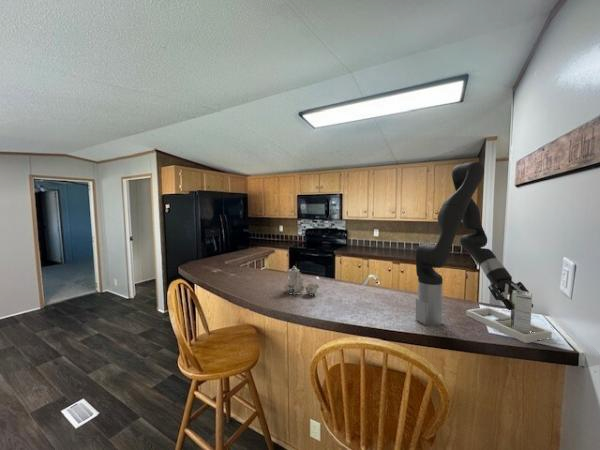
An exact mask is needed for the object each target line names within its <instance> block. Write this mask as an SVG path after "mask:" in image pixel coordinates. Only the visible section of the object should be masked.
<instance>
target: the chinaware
mask: <svg viewBox="0 0 600 450" xmlns="http://www.w3.org/2000/svg"><path fill="white" fill-rule="evenodd" d="M301 274H302V272H301V271H300V269H298V267H296V266H295V265H293V266H292V268H290V269H288V270H287V271H286V277H287V279H288V280H287V283H286V286H285V291H286V292H287V294H288V293H292V294H298V293H301V292H302V293H303V291H304V289H305V291H306V293H307V294H308V295H309V294H311V295H312V297H313V294H316V293H317V292H318V289H319V288H320V286H319V284H316V283H315V284H314V283H308V284H304V286H303V282H304V280H305V277H302V275H301ZM302 293H301V294H302ZM298 295H299V294H298Z"/></svg>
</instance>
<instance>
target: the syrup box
mask: <svg viewBox="0 0 600 450" xmlns="http://www.w3.org/2000/svg"><path fill="white" fill-rule="evenodd" d="M511 303H512V305H513V306H514V309H513V310H510V316H511V320H510V328H511V329H514V330H516V331H518V332H523V333H528V334H529V333H530V325H531V324H532V308H533V307H532V304H533V293H532V292H530V291H529V292H525V291H520V290H513V293H512V295H511Z"/></svg>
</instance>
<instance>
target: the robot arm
mask: <svg viewBox="0 0 600 450" xmlns="http://www.w3.org/2000/svg"><path fill="white" fill-rule="evenodd" d="M484 174H485V167H484V164H483V163H482V162H479V161H471V162H470V161H469V162H466V163H461V164H457V165H455V166H454V167H453V168H452V172H451V177H452V183H453V186H454V190H455V192H454V193H452V194H451V195H450V196H449V197H448V198H446V199H445V200H444V202H443V203H442V205H441V208H440V209H439V211H438V214H437V223H438V227H439V232H440V234H439V238H438V240H437V243H436V244H430V243H421V244H420V245H418V246H417V249H416V251H415V268H416V269H415V271H416V276H417V297H416V298H415V320H416V321H417V322H420V323H421V324H423V325H424V326H431V327H437V326H438V327H439V326H441V325H443V323H442V321H443V282H444V281H443V276H442V275H441V274H440V273H438V272H436V270H435V269H434V268H437V269H440V268H443V267H444V266H445V264H446V263H447V262H448V260H449V256H450V254H451V250H452V247H453V244H454V243H453V242H454V240H455V237H456V236H457V235H456V234H457V232H458V230H459V227H460V224H461V222H462V226H463V229H466V230H472V232H473V233H468V234H467V233H466V234H463V235H462V236H461V237H460V239H459V243H460V245H461V247H462V248H463V250H465V251H466V252H467V253H468V254H469V255H470V256H471V257H473V258H474V259H475V260H476V263H478V265H479V266H480V268H481V270H482V272H483V273H484V275H485V276H486V278H487V279H488V281H489V283H490V285H489V286H488V287H487V288H488V290H489V291H490V293H491V295H492V296H493V298H494V299H495V300H496V301H500V302H502V304H503V305H504V307H505V308H506V309H507V310H508V311H511V310H513V309H514V306H513V305H512V301H510V299H508V295H509V296H510V295H511V296H512V293H513V290H520V291H525V292H530V291H529V290H528V289H527V288H526V286H525V285H524V284H523V283H522V282H521V281H519V282H514V281H513V280H512V279H513V277H512V275H511V273H509V271H508V270H507V268H506V267H505V265H504V264H503V263H502V262H501V261H500V260H499V259H498V257H497V256H496V255H495V254H494V252H493V251H492V250H491V249H489V248H485V247H486V246H487V243H488V237H487V234H486V232H485V230H484V228H483V225H482V221H481V212H480V209H479V206H478V204H477V203H476V202H475V200H474V199H473V196H474V194H475V192H476V190H477V189H478V187H479V185H480V183H481V182H482V180H483V178H484ZM532 308H534V304H533V303H532Z"/></svg>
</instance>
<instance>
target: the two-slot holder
mask: <svg viewBox="0 0 600 450" xmlns="http://www.w3.org/2000/svg"><path fill="white" fill-rule="evenodd" d="M484 315H491V316H493V317H495V318H497V319H490V318H488V317H486V316H484ZM465 316H466V317H468V318H470V319H472V320H474V321H477V322H479V323H481V324H484V325H485V326H488V327H490V328H492V329H494V330H497V331H499V332H500V333H503V334H505V335H507V336H509V337H511V338H513V339H517V341H520V342H522V343H525V344H528V343H529V344H530V343H533V342H534V341H535V342H538V341H537V340H540V339H546V340H548V339H547V338H551V339H552V336H553V332H552V331H550V330H548V329H545V328H543V327H541V326H538V325H535V324H532V323H531V325H530V331H533V333H529V334H528V333H523V332H518V331H516V330H514V329H511V328H510V327H509V326H510V320H511V314H508V313H504V312H502V311H498V310H496V309H494V308H491V307H489V306H487V307H480V308H479V307H478V308H472V309H465ZM534 332H535V333H534ZM540 341H541V340H540ZM535 342H534V343H535Z"/></svg>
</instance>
